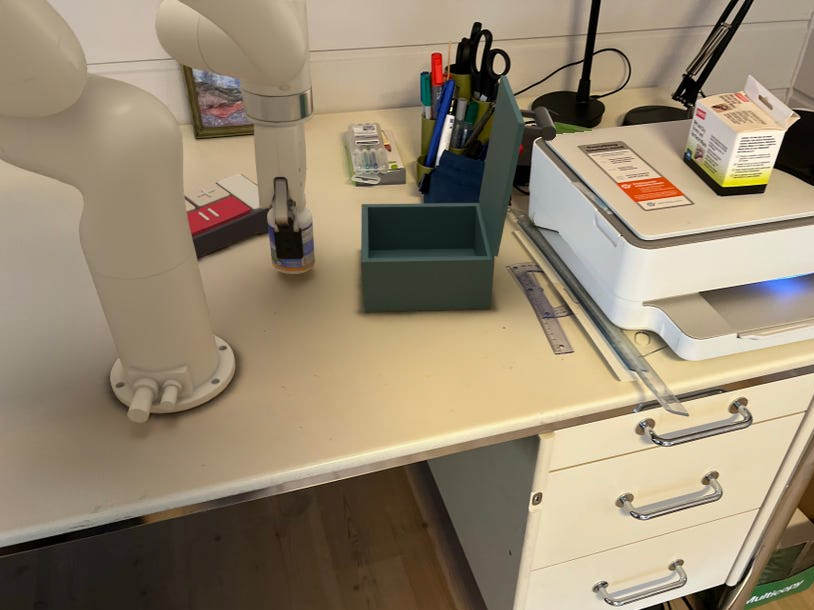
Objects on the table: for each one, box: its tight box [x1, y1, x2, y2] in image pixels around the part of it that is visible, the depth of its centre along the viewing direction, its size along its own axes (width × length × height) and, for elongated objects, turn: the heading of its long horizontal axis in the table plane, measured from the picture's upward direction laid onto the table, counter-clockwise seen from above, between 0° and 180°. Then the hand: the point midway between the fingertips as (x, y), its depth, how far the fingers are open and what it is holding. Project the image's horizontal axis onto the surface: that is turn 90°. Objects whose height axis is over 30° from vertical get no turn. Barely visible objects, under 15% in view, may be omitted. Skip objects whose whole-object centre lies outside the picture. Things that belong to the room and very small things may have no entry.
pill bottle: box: [267, 193, 316, 275], centre depth 93 cm, size 5×5×10 cm
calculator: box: [184, 173, 273, 259], centre depth 103 cm, size 11×4×15 cm
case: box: [360, 202, 496, 313], centre depth 95 cm, size 16×14×7 cm
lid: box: [478, 74, 557, 258], centre depth 89 cm, size 16×14×6 cm
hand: (292, 243), depth 94 cm, fingers closed on pill bottle, 5 cm apart
